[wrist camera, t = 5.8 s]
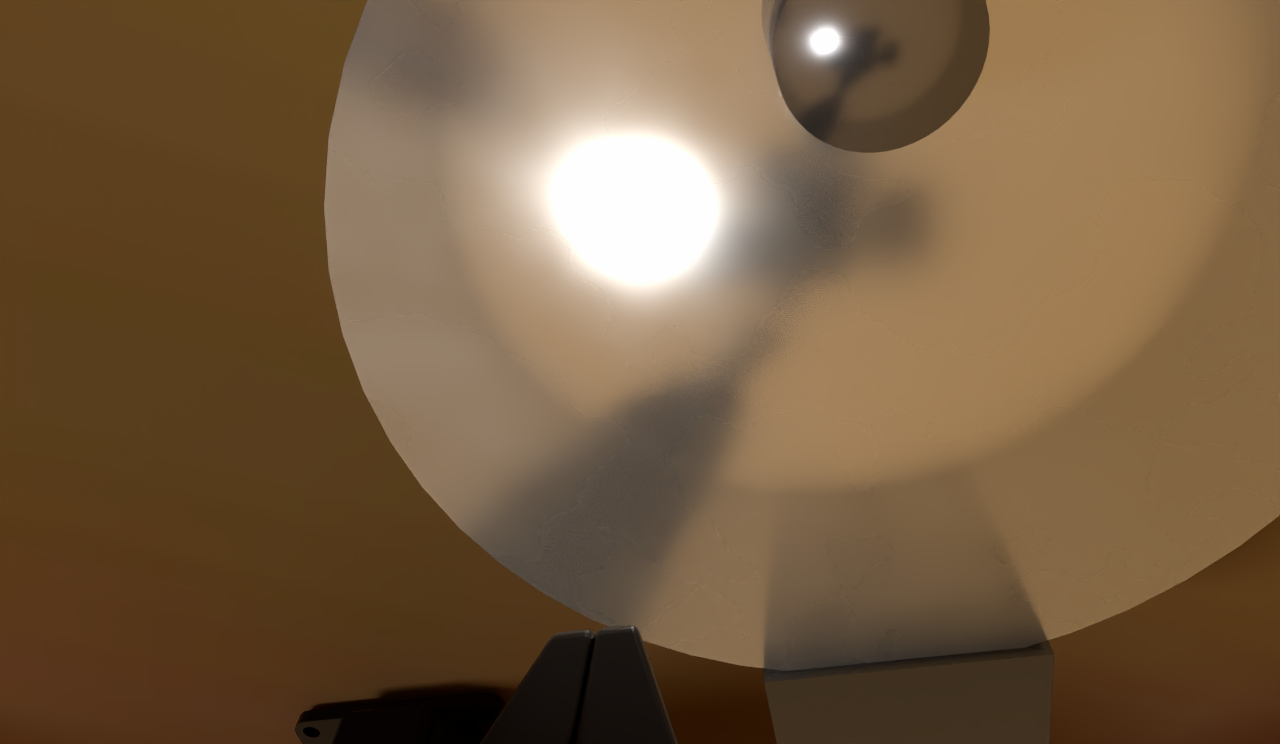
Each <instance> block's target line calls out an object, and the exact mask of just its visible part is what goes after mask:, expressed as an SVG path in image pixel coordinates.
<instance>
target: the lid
mask: <svg viewBox="0 0 1280 744" xmlns="http://www.w3.org/2000/svg"><path fill="white" fill-rule="evenodd" d="M324 211H325V224H326V238H327V251H328V264H329V274H330V279H331V284H332V288H333V293H334V297H335V302H336V306H337V311H338V315H339V320H340V325H341V329H342V334H343V337H344V339H345V342H346V345H347V348H348V350H349V353H350V356H351V358H352V361H353V364H354V367H355V369H356V372H357V375H358V377H359V380H360V383H361V386H362V388H363V391H364V393H365V395H366V397H367V398H368V400H369V402H370V404H371V406H372V408H373V410H374V412H375V414H376V415H377V417H378V419H379V421H380V423H381V425H382V427H383V429H384V431H385V432H386V434H387V436H388V438H389V440H390V442H391V443H392V445H393V446H394V448H395V449H396V450H397V452H398V453H399V455H400V456H401V457H402V459H403V460H404V462H405V463H406V465H407V466H408V467H409V469H410V470H411V472H412V473H413V474H414V476H415V477H416V479H417V480H418V482H419V483H420V484H421V486H422V487H423V488H424V489H425V491H426V492H427V493H428V494H429V495H430V496H431V497H432V498H433V499H434V501H435V502H436V503H437V504H438V505H439V506H440V507H441V508H442V509H443V510H444V512H445V513H446V514H447V515H448V516H449V517H450V518H451V519H452V520H453V521H454V523H455V524H456V525H457V526H458V527H459V528H460V529H461V530H462V531H464V532H465V533H466V534H467V535H468V536H469V537H470V538H472V539H473V540H474V541H475V542H476V543H477V544H478V545H480V546H481V547H482V548H483V549H484V550H485V551H486V552H488V553H489V554H490V555H491V556H492V557H493V558H495V559H496V560H497V561H498V562H499V563H500V564H502V565H503V566H505V567H506V568H508V569H509V570H511V571H512V572H513V573H515V574H516V575H518V576H519V577H521V578H522V579H524V580H525V581H526V582H528V583H529V584H531V585H532V586H534V587H535V588H537V589H538V590H539V591H541V592H542V593H544V594H546V595H548V596H549V597H551V598H553V599H555V600H557V601H559V602H560V603H562V604H564V605H566V606H568V607H570V608H571V609H573V610H575V611H577V612H579V613H581V614H582V615H584V616H586V617H588V618H590V619H592V620H595V621H597V622H599V623H602V624H604V625H606V626H609V627H618V626H628V625H634V626H636V627H637V628H638V629H639V631H640V634H641V637H642V639H643V640H644V641H647V642H650V643H653V644H656V645H660V646H663V647H666V648H669V649H673V650H676V651H679V652H682V653H686V654H689V655H693V656H698V657H703V658H708V659H712V660H717V661H722V662H727V663H731V664H736V665H741V666H749V667H758V668H763V676H764V684H765V689H766V694H767V699H768V704H769V709H770V713H771V718H772V723H773V728H774V733H775V738H776V742H777V744H1050V724H1051V704H1052V684H1053V664H1054V653H1053V651H1052V648H1051V646H1050V644H1049V641H1048V640H1050V639H1053V638H1056V637H1060V636H1063V635H1066V634H1069V633H1072V632H1075V631H1077V630H1080V629H1082V628H1085V627H1087V626H1090V625H1092V624H1094V623H1097V622H1099V621H1102V620H1104V619H1107V618H1109V617H1111V616H1114V615H1116V614H1119V613H1121V612H1124V611H1126V610H1129V609H1131V608H1133V607H1135V606H1136V605H1138V604H1140V603H1142V602H1144V601H1146V600H1148V599H1150V598H1152V597H1154V596H1156V595H1158V594H1160V593H1162V592H1164V591H1166V590H1168V589H1170V588H1172V587H1173V586H1175V585H1177V584H1179V583H1181V582H1183V581H1185V580H1187V579H1188V578H1190V577H1191V576H1193V575H1195V574H1196V573H1198V572H1199V571H1201V570H1202V569H1204V568H1206V567H1207V566H1209V565H1210V564H1212V563H1214V562H1215V561H1217V560H1218V559H1220V558H1222V557H1223V556H1225V555H1226V554H1228V553H1229V552H1231V551H1233V550H1234V549H1236V548H1237V547H1239V546H1240V545H1242V544H1243V543H1244V542H1245V541H1247V540H1248V539H1249V538H1251V537H1252V536H1253V535H1255V534H1256V533H1257V532H1258V531H1260V530H1261V529H1262V528H1264V527H1265V526H1266V525H1268V524H1269V523H1270V522H1272V521H1273V520H1274V519H1275V518H1277V517H1278V516H1279V515H1280V0H368V1H367V3H366V6H365V9H364V12H363V14H362V17H361V20H360V22H359V25H358V28H357V30H356V33H355V36H354V38H353V41H352V44H351V47H350V49H349V52H348V55H347V57H346V60H345V63H344V68H343V73H342V77H341V82H340V87H339V91H338V96H337V101H336V105H335V110H334V114H333V119H332V124H331V128H330V133H329V142H328V157H327V172H326V186H325V201H324Z"/></svg>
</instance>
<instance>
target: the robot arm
mask: <svg viewBox="0 0 1280 744" xmlns="http://www.w3.org/2000/svg"><path fill="white" fill-rule="evenodd" d="M295 732H296V734H297V736H298V737H299V739H300V740H301V742H302V743H303V744H678V742H677V739H676V736H675V733H674V730H673V727H672V724H671V722H670V719H669V716H668V713H667V710H666V707H665V704H664V701H663V698H662V695H661V692H660V689H659V686H658V683H657V680H656V678H655V675H654V672H653V669H652V666H651V663H650V660H649V657H648V654H647V651H646V648H645V645H644V642H643V639H642V637H641V634H640V631H639V629H638V628H637V627H636V626H634V625H628V626H618V627H608V628H602V629H600V630H599V631H598V632H597V633H595V632H594V631H593V630H578V631H568V632H560V633H557V634H555V635H554V636H553V637H551V639H550V640H549V641H548V643H547V644H546V646H545V647H544V649H543V650H542V652H541V653H540V655H539V656H538V658H537V659H536V661H535V662H534V664H533V665H532V667H531V668H530V670H529V671H528V673H527V674H526V676H525V677H524V679H523V680H522V682H521V683H520V685H519V686H518V688H517V689H516V691H515V692H514V694H513V695H512V697H511V698H510V700H509V701H508V703H507V704H505V702H504V701H503V700H502V698H500V697H499V696H497V695H494V694H491V693H478V694H468V695H458V696H448V697H438V698H428V699H418V700H408V701H398V702H388V703H378V704H368V705H358V706H348V707H338V708H328V709H318V710H309V711H305V712H303V713H302V714H301V715H300V717H299V720H298V722H297V725H296V727H295Z"/></svg>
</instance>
